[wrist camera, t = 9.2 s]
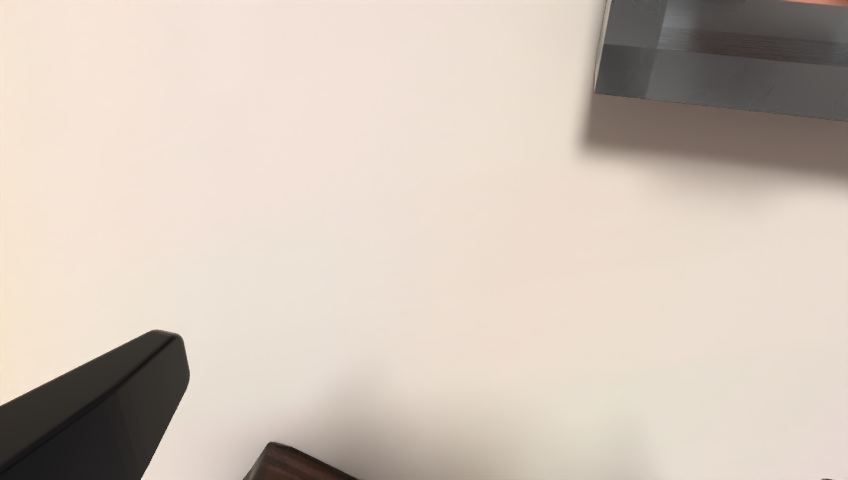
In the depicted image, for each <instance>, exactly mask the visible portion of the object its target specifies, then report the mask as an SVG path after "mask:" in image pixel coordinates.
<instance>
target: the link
mask: <svg viewBox="0 0 848 480" xmlns="http://www.w3.org/2000/svg"><path fill="white" fill-rule="evenodd" d="M783 1H793V2H804V3H815V4H826V5H836V6H847V7H848V0H783Z"/></svg>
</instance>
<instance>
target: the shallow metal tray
mask: <svg viewBox="0 0 848 480" xmlns="http://www.w3.org/2000/svg"><path fill="white" fill-rule="evenodd" d="M594 93H597V94H606V95H615V96H624V97H633V98H642V99H651V100H660V101H669V102H678V103H687V104H696V105H705V106H714V107H723V108H732V109H741V110H750V111H758V112H767V113H776V114H785V115H794V116H803V117H812V118H821V119H830V120H839V121H848V7H847V6H836V5H826V4H815V3H804V2H793V1H783V0H607V2H606V7H605V13H604V18H603V24H602V29H601V35H600V40H599V46H598V51H597V57H596V63H595V87H594Z"/></svg>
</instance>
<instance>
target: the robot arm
mask: <svg viewBox="0 0 848 480" xmlns="http://www.w3.org/2000/svg"><path fill="white" fill-rule="evenodd" d="M189 379H190V371H189V366H188V361H187V356H186V351H185V346H184V341H183V339H182V337H181V336H180V335H179V334H176V333H172V332H167V331H163V330H152V331H149V332H147V333H145V334H143V335H141V336H139V337H137V338H135V339H133V340H131V341H129V342H127V343H125V344H123V345H121V346H119V347H117V348H115V349H113V350H111V351H109V352H107V353H105V354H103V355H101V356H99V357H97V358H95V359H93V360H91V361H89V362H87V363H85V364H83V365H81V366H79V367H77V368H75V369H73V370H71V371H69V372H67V373H65V374H63V375H61V376H59V377H57V378H55V379H53V380H51V381H49V382H47V383H45V384H43V385H41V386H39V387H37V388H35V389H33V390H31V391H29V392H27V393H25V394H23V395H21V396H19V397H17V398H15V399H13V400H11V401H9V402H7V403H5V404H3V405H1V406H0V480H141V478H142V476H143V474H144V472H145V471H146V469H147V467H148V465H149V463H150V461H151V459H152V457H153V455H154V453H155V451H156V449H157V447H158V445H159V443H160V441H161V439H162V437H163V435H164V433H165V431H166V429H167V427H168V425H169V423H170V421H171V419H172V417H173V415H174V413H175V411H176V409H177V407H178V405H179V403H180V401H181V399H182V397H183V395H184V393H185V391H186V389H187V386H188V383H189ZM822 480H832V479H822Z"/></svg>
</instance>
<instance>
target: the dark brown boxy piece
mask: <svg viewBox="0 0 848 480" xmlns="http://www.w3.org/2000/svg"><path fill="white" fill-rule="evenodd" d="M243 480H357V479H355V478H353V477H351V476H349V475H347V474H345V473H343V472H341V471H339V470H337V469H335V468H333V467H331V466H329V465H327V464H325V463H323V462H321V461H319V460H317V459H315V458H313V457H311V456H309V455H307V454H304V453H302V452H300V451H298V450H296V449H294V448H292V447H289V446H286V445H282V444H279V443H276V442H270V443H268V444H267V446H266V447H265V449H264V450H263V452H262V453H261V455H260V456H259V458H258V459H257V461H256V462H255V464H254V466H253V467H252V468H251V470H250V471H249V472H248V474H247V475H246V476H245V478H244V479H243Z"/></svg>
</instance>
